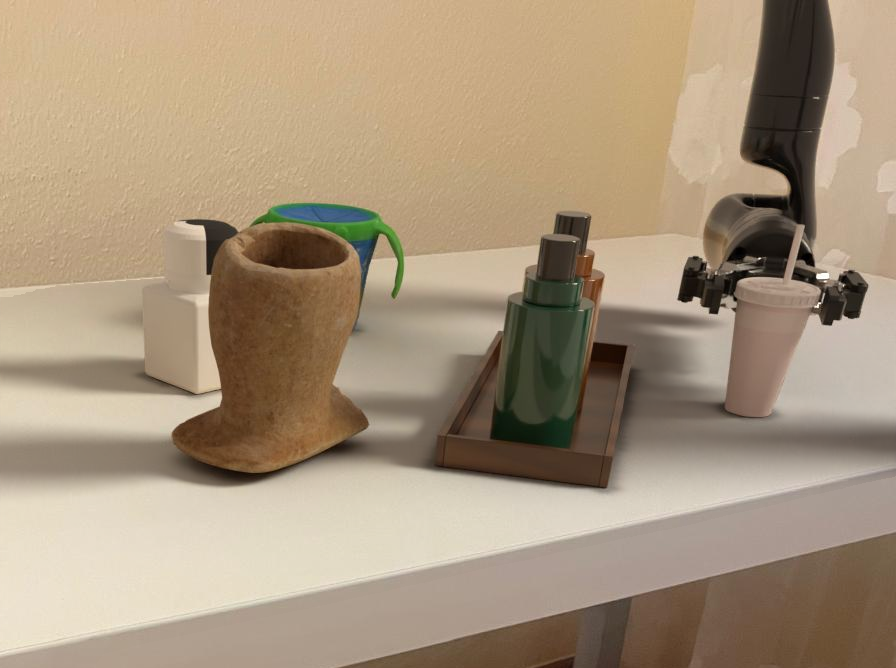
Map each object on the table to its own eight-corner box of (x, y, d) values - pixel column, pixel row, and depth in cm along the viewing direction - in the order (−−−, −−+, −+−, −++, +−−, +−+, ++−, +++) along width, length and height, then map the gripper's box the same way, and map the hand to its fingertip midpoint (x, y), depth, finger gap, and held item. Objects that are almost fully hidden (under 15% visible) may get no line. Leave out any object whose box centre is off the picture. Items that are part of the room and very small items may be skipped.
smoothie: (802, 421, 97) (855, 233, 89) (729, 423, 96) (775, 233, 88) (764, 397, 102) (811, 217, 94) (694, 398, 101) (735, 217, 93)
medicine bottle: (209, 361, 105) (207, 211, 98) (262, 380, 101) (265, 225, 94) (143, 375, 101) (137, 219, 94) (196, 395, 97) (194, 234, 90)
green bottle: (587, 446, 88) (624, 240, 80) (536, 463, 85) (569, 249, 77) (523, 425, 92) (552, 225, 83) (472, 440, 88) (497, 234, 80)
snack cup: (411, 324, 118) (421, 211, 112) (379, 349, 110) (387, 229, 104) (265, 305, 122) (267, 195, 117) (223, 328, 114) (223, 211, 108)
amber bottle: (597, 407, 96) (631, 216, 88) (551, 421, 93) (582, 224, 84) (538, 389, 99) (566, 204, 91) (491, 402, 96) (516, 211, 88)
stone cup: (277, 503, 78) (283, 257, 70) (149, 458, 84) (140, 226, 76) (410, 448, 88) (430, 226, 79) (287, 411, 94) (294, 201, 85)
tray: (495, 355, 110) (498, 330, 109) (629, 369, 107) (634, 344, 106) (434, 465, 85) (437, 435, 84) (607, 488, 83) (613, 456, 82)
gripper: (692, 212, 105) (690, 245, 92) (864, 226, 102) (886, 262, 89) (673, 302, 109) (669, 346, 96) (838, 318, 106) (855, 366, 93)
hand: (773, 306), depth 92 cm, fingers open, 8 cm apart
